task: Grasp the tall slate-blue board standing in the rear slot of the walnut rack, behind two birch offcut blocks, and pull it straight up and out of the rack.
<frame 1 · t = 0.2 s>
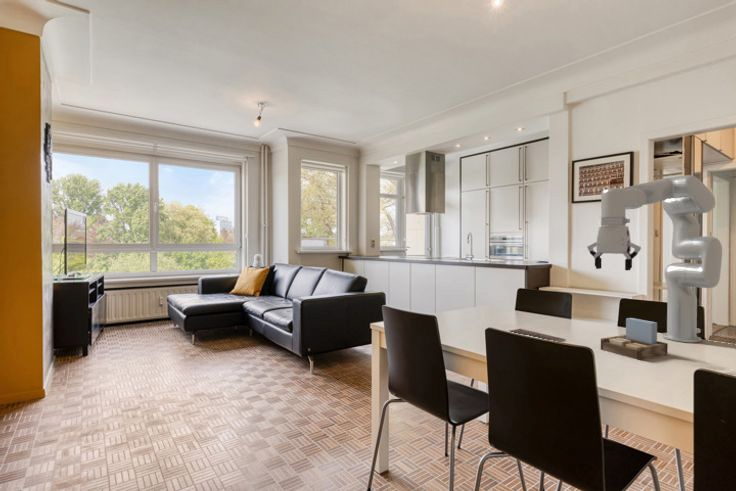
hand: (612, 269, 143), 31 cm above the table, tool pointing down, fingers open, 9 cm apart
picture frame: (528, 342, 162), on the table
offcut 1: (620, 350, 142), point 1 cm above the table, touching rack
rack: (633, 354, 141), on the table
offcut 2: (636, 355, 137), point 1 cm above the table, touching rack
panel: (640, 350, 142), point 1 cm above the table, touching rack
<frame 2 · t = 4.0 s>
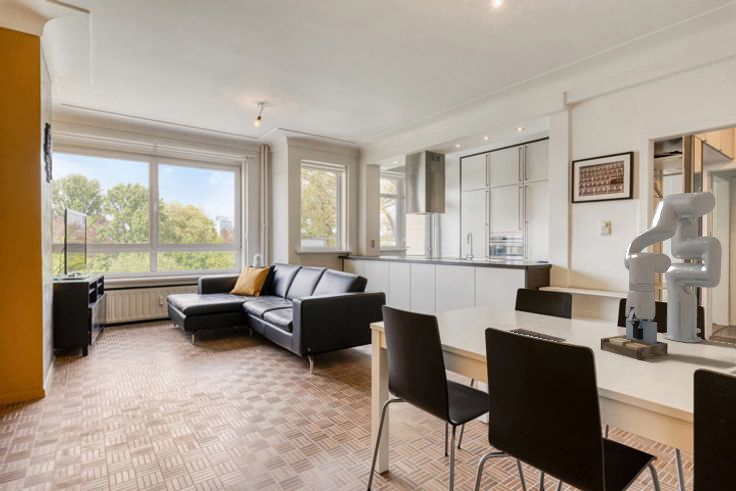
hand: (641, 337, 142), 6 cm above the table, tool pointing down, fingers closed on panel, 3 cm apart
panel: (640, 350, 142), point 1 cm above the table, touching gripper, rack
everything else where it was.
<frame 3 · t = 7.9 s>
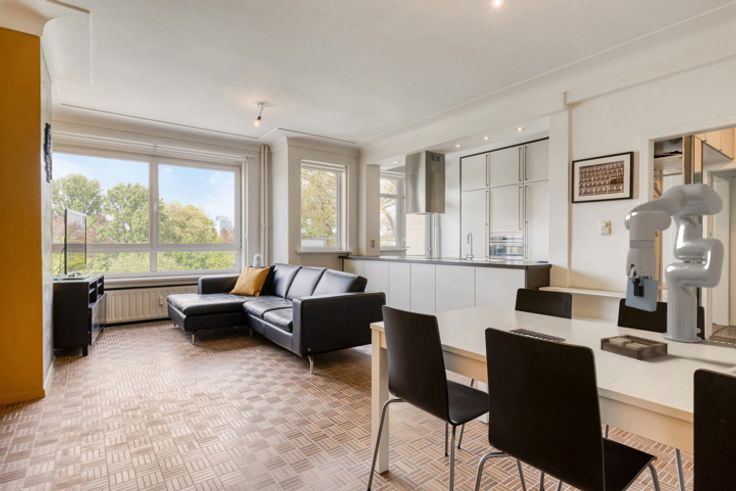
hand: (641, 295, 142), 21 cm above the table, tool pointing down, fingers closed on panel, 2 cm apart
panel: (640, 307, 143), point 16 cm above the table, tilted 5°, touching gripper
everything else where it was.
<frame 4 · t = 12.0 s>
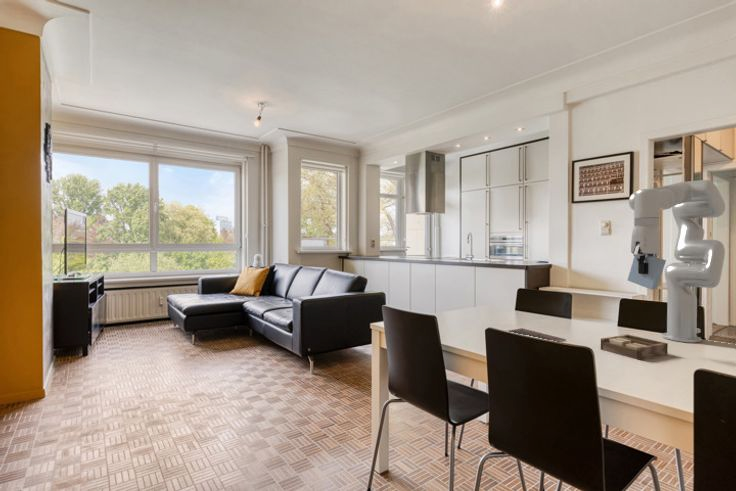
hand: (646, 273, 143), 29 cm above the table, tool pointing down, fingers closed on panel, 2 cm apart
panel: (641, 284, 144), point 25 cm above the table, tilted 16°, touching gripper
everything else where it was.
at the end: the gripper is holding panel; panel point 24.8 cm above the table; offcut 1 moved 0.0 cm from its start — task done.
